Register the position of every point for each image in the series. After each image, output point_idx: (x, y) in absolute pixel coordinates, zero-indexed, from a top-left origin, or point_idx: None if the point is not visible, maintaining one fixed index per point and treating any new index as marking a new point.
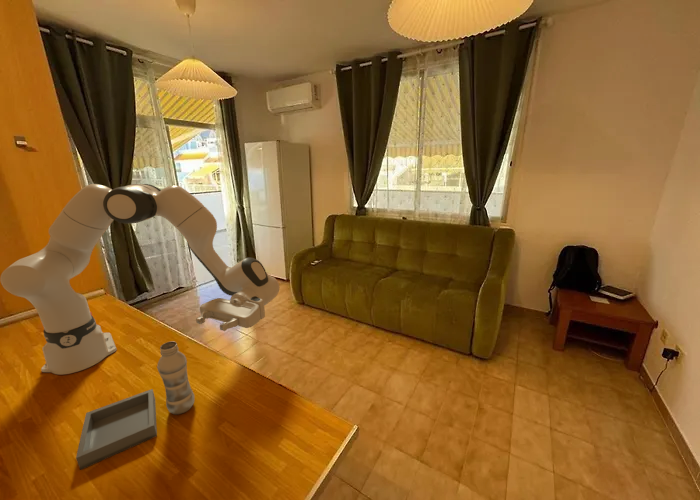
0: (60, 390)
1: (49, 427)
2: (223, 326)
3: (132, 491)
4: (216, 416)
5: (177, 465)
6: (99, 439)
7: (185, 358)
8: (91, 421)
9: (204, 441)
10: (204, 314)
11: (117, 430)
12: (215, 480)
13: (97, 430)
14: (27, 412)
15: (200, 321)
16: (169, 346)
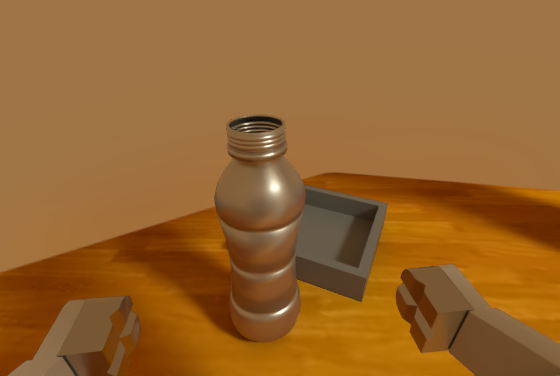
0: (541, 225)
1: (421, 201)
2: (71, 300)
3: (192, 215)
4: (148, 350)
5: (155, 252)
6: (322, 216)
7: (228, 208)
8: (367, 211)
9: (134, 295)
10: (534, 368)
11: (318, 231)
12: (64, 266)
13: (346, 219)
14: (489, 196)
15: (410, 293)
16: (279, 148)
